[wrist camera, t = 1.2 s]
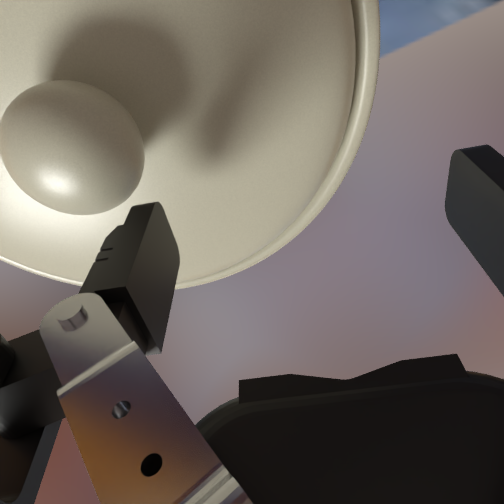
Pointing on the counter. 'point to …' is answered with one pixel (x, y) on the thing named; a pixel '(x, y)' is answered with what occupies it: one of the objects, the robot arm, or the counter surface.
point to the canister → (177, 124)
